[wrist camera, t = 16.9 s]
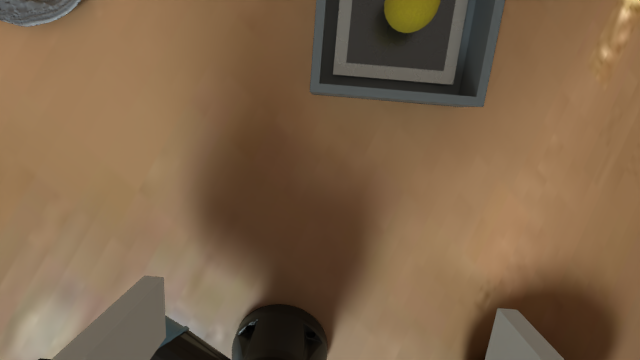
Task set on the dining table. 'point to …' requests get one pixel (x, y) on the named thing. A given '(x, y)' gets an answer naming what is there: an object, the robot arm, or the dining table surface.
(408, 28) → the lemon
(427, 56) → the gray picture frame
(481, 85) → the gray open box
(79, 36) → the dining table surface
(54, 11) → the food plate
